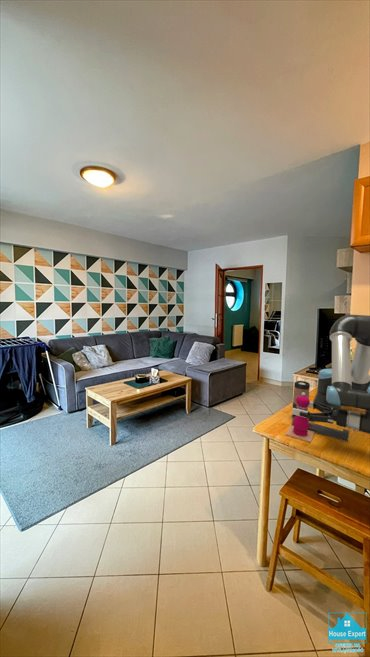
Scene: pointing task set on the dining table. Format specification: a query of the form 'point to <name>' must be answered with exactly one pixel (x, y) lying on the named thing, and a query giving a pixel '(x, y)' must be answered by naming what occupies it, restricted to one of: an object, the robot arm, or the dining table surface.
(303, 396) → the pepper mill
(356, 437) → the dining table surface
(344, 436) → the handrail
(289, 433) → the end tile
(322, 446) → the dining table surface
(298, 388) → the travel mug
